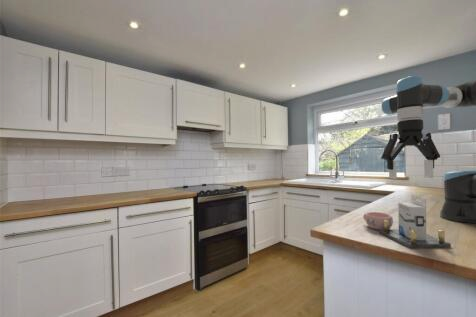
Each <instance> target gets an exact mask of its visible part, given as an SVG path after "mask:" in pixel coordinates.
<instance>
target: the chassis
mask: <svg viewBox="0 0 476 317" xmlns="http://www.w3.org/2000/svg"><path fill="white" fill-rule="evenodd" d="M378 231H379V234H380V235H382V236H384V237H386V238H389V239H390V240H392V241H394V242H396V243H397V244H401V245H403V246H404V247H406V248H409V249H432V248H433V249H437V248H438V249H439V248H440V249H441V248H451V247H452V246H451V245H452V243H451V242H447V241H446V240H445V239H446V238H445V237H446V236H445V234H446V232H445V231H444V230H442V229H441V230H440V229H438V230H437V236H438V237H434V236H432V235H430V234H427V233H426V240H417V232H416V231H411V239H410V238H408V237H406V236H405V235H403V234H401V233H400V232H399V229H389V221H387V220H384V230H378Z"/></svg>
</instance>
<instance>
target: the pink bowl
mask: <svg viewBox="0 0 476 317" xmlns="http://www.w3.org/2000/svg"><path fill="white" fill-rule="evenodd" d="M362 216H363V219H364V221H365V223H366V225H367V227H369V228H371V229H374V230H377V231H379V230H384V220H387V221H389V230H391V228H392V226H393V223H394V220H393V216H392V215H391V214H388V213H385V212H377V211H376V212H374V211H368V212H366V213H364V214H363V215H362Z"/></svg>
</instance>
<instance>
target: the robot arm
mask: <svg viewBox="0 0 476 317" xmlns="http://www.w3.org/2000/svg"><path fill="white" fill-rule="evenodd" d="M380 107H381V110H382V112H383V113H384V114H385V115H394V114H395V115H396V119H397V121H398V122H397V124H396V125H397V126H396V128H397V129H396V130H397V132H398V133H397V132H396V133H391V134H389V137H388V138H389V139H388V142H387V143H386V146H385V148H384V150H383V153H382V155H381V159H382V160H385V161H386V166H387V167H386V168H387V170H388V178H389V179H393V180H397V179H398V178H397V176H398V175H397V171H398V170H397V160H395V159H396V158H397V157H398V155H399V154H400V153H401V151H402V150H403V149H404V148H405V147H406V146H408V147H409V146H410V147H411V146H414V147H415V148H417V149H418V150H419V152H420V153H421V154H422V155H423V157H424V158H425V159H424V161H423V162H424V164H423V165H424V166H423V168H424V178H427V179H434V169H435V160H438V159H439V158H441V155H440V153H439V151H438V149H437V147H436V145H435V143H434V141H433V139H432V133H431V132H425V133H423V132H422V131H423V130H424V120H423V118H424V110H426V109H435V108H446V109H451V108H452V109H453V108H469V107H471V108H472V107H476V79H474V80H471V81H467V82H464V83H462V84H458V85H455V86H448V87H446V86H443V85H439V84H426V83H424V80H423V78H422V76H421V75H411V76H407V77H403V78H401V79H399V80H398V81H397V82H396V95H393V96H390V97H386V98H384V99H383V100H382V102H381V105H380ZM398 140H399V141H398ZM443 178H444V179H443V182H444V183H443V184H444V185H443V186H444V194H443V195H444V201H443V205H442V207H441V210H440V212H439V216H440V218H442V219H445V220H448V221H454V222H460V223H467V224H468V223H469V224H476V170H475V169H474V170H458V171H457V170H456V171H447V172H446V173H444V177H443Z"/></svg>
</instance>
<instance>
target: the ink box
mask: <svg viewBox="0 0 476 317" xmlns="http://www.w3.org/2000/svg"><path fill="white" fill-rule="evenodd" d="M410 197H411V198H410V200H411V202H406V201H405V202H404V201H402V202H401V201H399V202H398V203H397V204H398V205H397V206H398V211H397V212H398V230H399V232H400V233H401V234H403V235H405V236H406V237H408V238H410V239H411V231H416V232H417V240H426V234H427V200H426V199H427V198H425V197H423V196H422V197H421V196H418V195H415V194H411V195H410Z"/></svg>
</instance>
